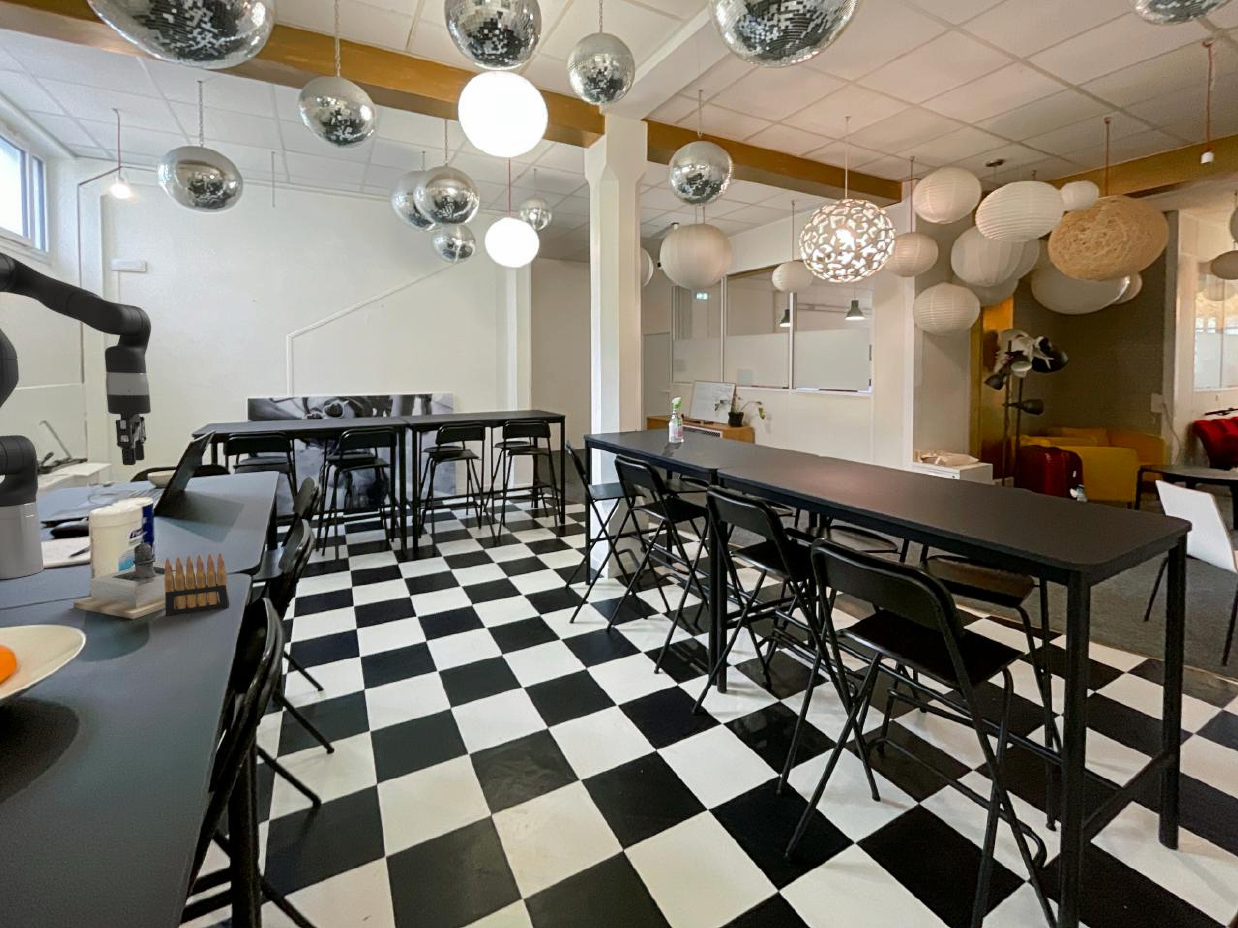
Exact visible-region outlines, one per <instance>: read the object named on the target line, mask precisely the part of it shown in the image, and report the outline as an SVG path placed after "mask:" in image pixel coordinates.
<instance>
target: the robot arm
mask: <svg viewBox="0 0 1238 928" xmlns="http://www.w3.org/2000/svg"><path fill="white" fill-rule="evenodd" d="M0 293H7V294H8V293H9V294H14V295H17V296H23V297H28V298H31V299H33V300H35V301H38V302H39V303H40V304H41V305H43V306H44V307H46V308H47V309H49V310H51V311H53V312H55V313H58V314H60V315H63V316H66V317H68V318H70V319H74V320H77V321H79V322H82V323H83V324H85V325H87V326H89V327H90V328H92V329H94V330H96V331H99V332H102V333H104V334H108V335H113V336H119V338H118V342H117V344H116V345H112V346H108V347H106V348H105V351H104V361H105V362H104V363H105V372H106V373H105V374H106V375H105V376H106V377H105V388H106V389H105V390H106V391H105V393H106V399H107V400H106V403H107V411H108V413H109V414H111V415H119V416H120V419H116V420H115V428H116V429H115V431H116V446H117V447H118V448H119V449H120V450H121V459H122V465H123V466H134V465H136V464H137V461H144V460H145V457H146V456H145V448H144V446H145V444H146V441H147V435H146V423H145V416H140V415H146V414H147V415H149V414H150V413H151V412H152V411H151V396H150V385H149V379H148V375H147V364H146V363H147V362H146V352H147V350H148V347H149V341H150V338H151V333H152V332H151V331H152V322H151V319H150V317H149V314H148V313H147V312H146V311H145V310H144V309H142V308H141V307H139V306H136V305H130V304H125V303H118V302H112V301H110V300H109V301H108V300H105V299H103V298H102V297H101V296H100V295H98V294H97V293H94V292H93V291H90V290H87V289H84V288H81V287H79V286H76V285H73V284H70V283H68V282H65V281H62V280H59V279H57V278H53V277H52V276H51V277H50V276H48V275H46V274H44V273H42V272H40V271H37V270H35V269H34V268H32V267H30V266H29V265H27V264H25V263H23V262H21V261H20V260H18V259H16V258H14V257H12V256H10V255H8V254H6V253H4V252H1V251H0ZM17 354H18V353H17V350H16V348H15V347H14V344H13V342H11V340H10V339H9V337H8V336H7V335H6V334H5V332H4V331H3V330H2V328H0V409H1V408H2V406H3V405H4V404H5V403H6V401H7V400H8V399H9V397H10V396H11V395H12V393H13V392H14V390H15V389H16V387H17V385H18V383H19V379H20V378H19V377H20V376H19V373H20V372H19V361H18V355H17ZM37 457H38V455H37V450H36V447H35V445H34V443H33V442H32V440H30V439H29V438H28V437H26V436H24V435H20V434H19V435H18V434H15V435H14V434H13V435H11V434H10V435H0V477H2V476H4V478H3V479H2V481H1V482H0V580H4V579H5V580H6V579H15V578H22V577H26V576H31V575H34V574H38V573H40V572H42V571H44V558H43V548H42V547H43V546H42V538H41V529H40V522H39V521H40V518H39V512H38V501H37V492H38V490H39V477H38V475H39V474H38V458H37Z"/></svg>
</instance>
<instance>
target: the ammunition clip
mask: <svg viewBox="0 0 1238 928" xmlns="http://www.w3.org/2000/svg"><path fill="white" fill-rule="evenodd" d="M203 560H204V559H203V557H202V555H200V554H199V555H198V556H197V559H196V568H197V573H196V578H195V573H194V568H195V567H194V562H193V559H192V557H191V556H190V555H188V556H187V559H186V565H185V567H186V584H185V576H184V572H183V562H182V561H183V560H182V559H181V558H180V557H179V556H177V558H176V562H175V565H176V576H175V580H174V576H173V571H172V565H173V564H172V561H171V560H170V558H169V557H168V558H166V560H165V579H164V581H165V608H164V610H165V617H173V616H180V615H187V614H195V613H203V612H209V611H217V610H223V609H225V610H226V609H229V608H230V597H229V591H228V581H227V579H228V577H227V571H226V566H225V560H224V556H223V554H222V552H219V554H218V556H217V571H216V568H215V563H214V558H213V555H212V554H211V553H209V554H208V556H207V561H206V565H207V567H206V570H207V571H206V572H205V567H204V565H205V564H204V561H203ZM171 564H172V565H171ZM196 583H197V586H196ZM175 584H176V589H175ZM186 595H187V596H186ZM176 599H177V604H176Z"/></svg>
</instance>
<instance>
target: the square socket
mask: <svg viewBox="0 0 1238 928" xmlns="http://www.w3.org/2000/svg"><path fill="white" fill-rule="evenodd" d="M165 563H166V562H165ZM165 563H164V562H158V561H153V569H154V571H155V573H160V574H162V575H160V576H157V577H153V578H150V579H147V580H143V581H140V582H137V581H131V580H128V579H129V578H131V577H133V576H134V575H135V566H134V567H130V568H127V569H123V570H118V571H116V572H112V573H108V574H104V575H101V576H97V577H94V578H90V579H89V589H90V597H91V600H94V601H100V602H105V603H110V604H116V605H121V606H127V607H132V608H139V607H142V606H145V605H148V604H151V603H154V602H157V601H160V600H163V599H165V581H164V579H165ZM171 565H172V571H173V576H174V580H175V576H176V564H173V563H171ZM193 568H194V573H195V578H196V573H197V567H193ZM183 572H184V576H185V584H186V565H185V566H183ZM196 586H197V583H196ZM175 589H176V584H175Z"/></svg>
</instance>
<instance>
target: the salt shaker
mask: <svg viewBox="0 0 1238 928" xmlns="http://www.w3.org/2000/svg"><path fill="white" fill-rule="evenodd" d="M133 552H134V554H133V555H134V560H133V561H132V564H134V567H135V575H134V576H133V577H131V578H129V579H128V580H131V581H137V582H140V581H143V580H147V579H150V578H153V577H157V576H160V575H162V574H160V573H155V571H154V569H153V562H155V558H153V555H152V554H153V553H152V546H151V545H150V544H148V543H145V541H144V540H143V539H141V540H140V543H139V544H137V545H136V546H135V547H134V548H133Z"/></svg>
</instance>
